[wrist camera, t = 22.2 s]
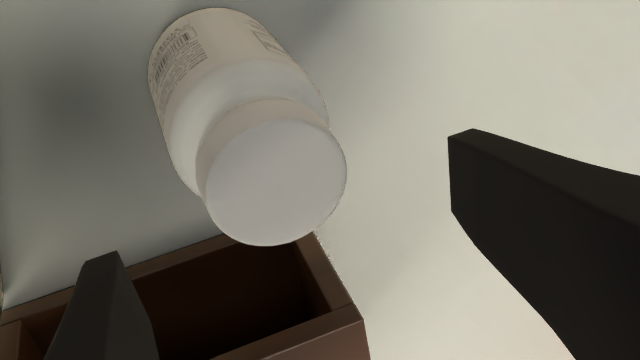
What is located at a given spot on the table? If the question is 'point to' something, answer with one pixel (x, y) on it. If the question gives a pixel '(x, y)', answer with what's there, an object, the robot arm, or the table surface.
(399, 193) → the table surface
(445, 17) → the table surface
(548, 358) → the table surface
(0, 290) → the green handled slab
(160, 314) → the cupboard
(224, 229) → the pill bottle
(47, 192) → the table surface
